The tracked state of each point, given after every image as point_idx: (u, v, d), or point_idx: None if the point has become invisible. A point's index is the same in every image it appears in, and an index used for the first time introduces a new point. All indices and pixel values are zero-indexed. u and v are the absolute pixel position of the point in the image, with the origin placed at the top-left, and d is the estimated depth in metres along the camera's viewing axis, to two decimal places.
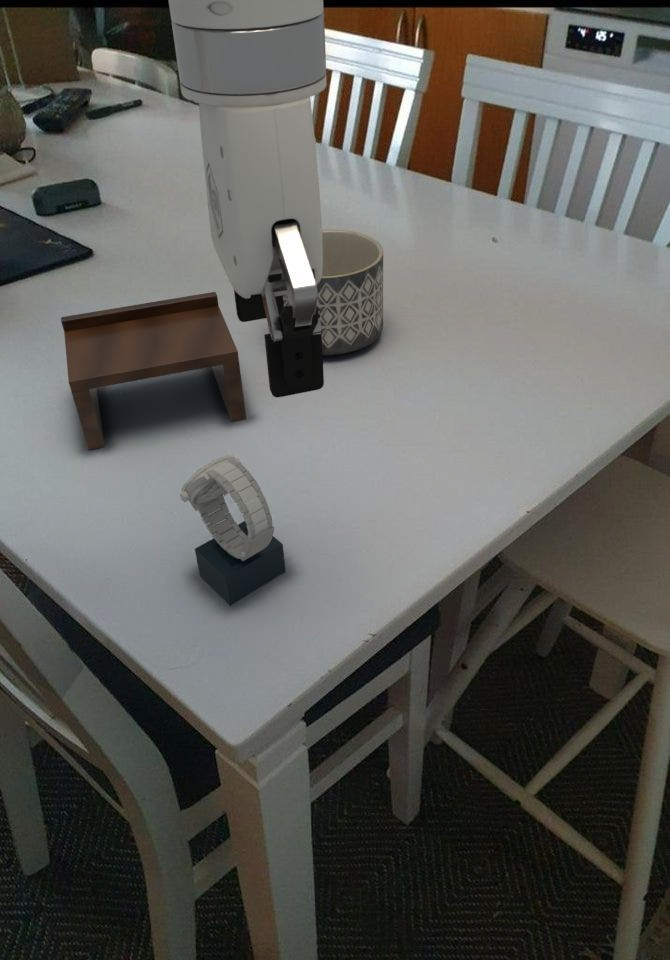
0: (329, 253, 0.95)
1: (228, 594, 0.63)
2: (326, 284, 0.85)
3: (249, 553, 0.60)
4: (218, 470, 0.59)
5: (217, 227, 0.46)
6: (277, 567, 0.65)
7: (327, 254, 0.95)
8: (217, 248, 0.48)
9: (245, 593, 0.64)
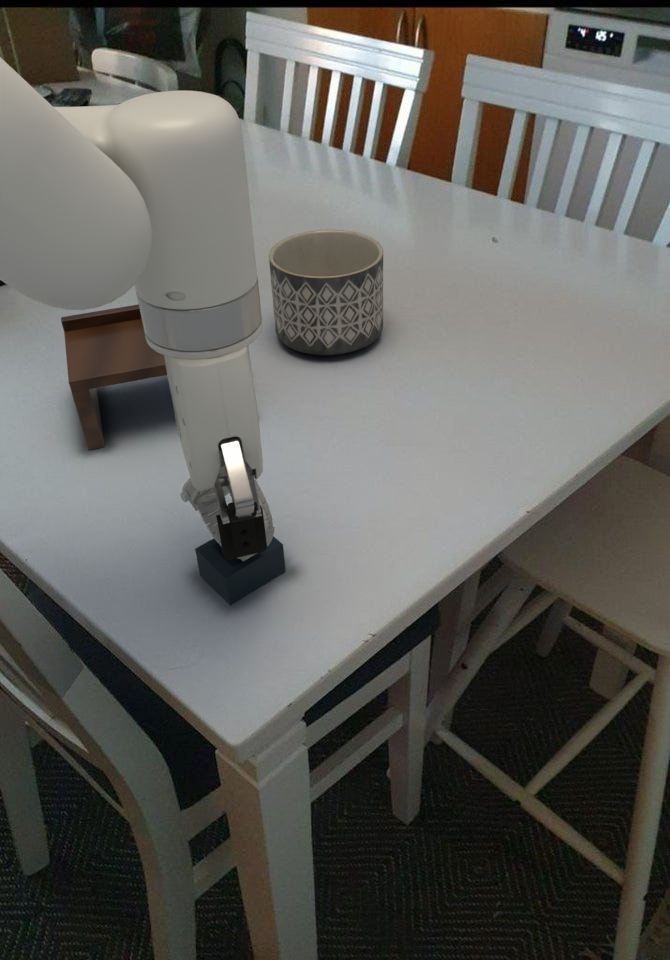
0: (329, 253, 0.95)
1: (228, 594, 0.63)
2: (326, 284, 0.85)
3: None
4: None
5: (178, 426, 0.56)
6: (277, 567, 0.65)
7: (327, 254, 0.95)
8: None
9: (245, 593, 0.64)
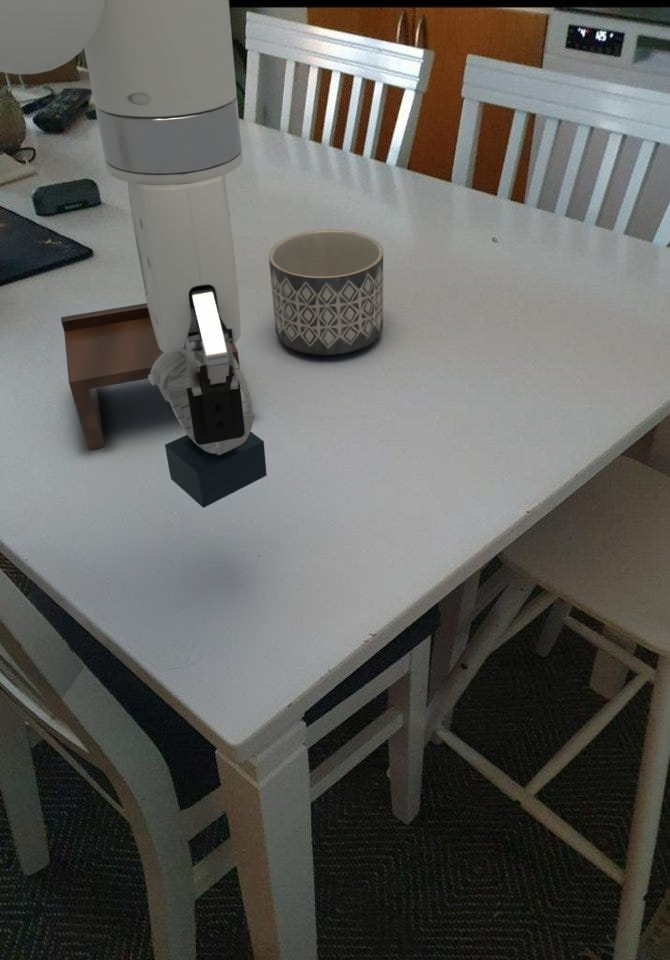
0: (329, 253, 0.95)
1: (201, 494, 0.56)
2: (326, 284, 0.85)
3: (225, 443, 0.54)
4: None
5: (145, 286, 0.49)
6: (257, 469, 0.58)
7: (327, 254, 0.95)
8: (147, 304, 0.51)
9: (220, 495, 0.57)
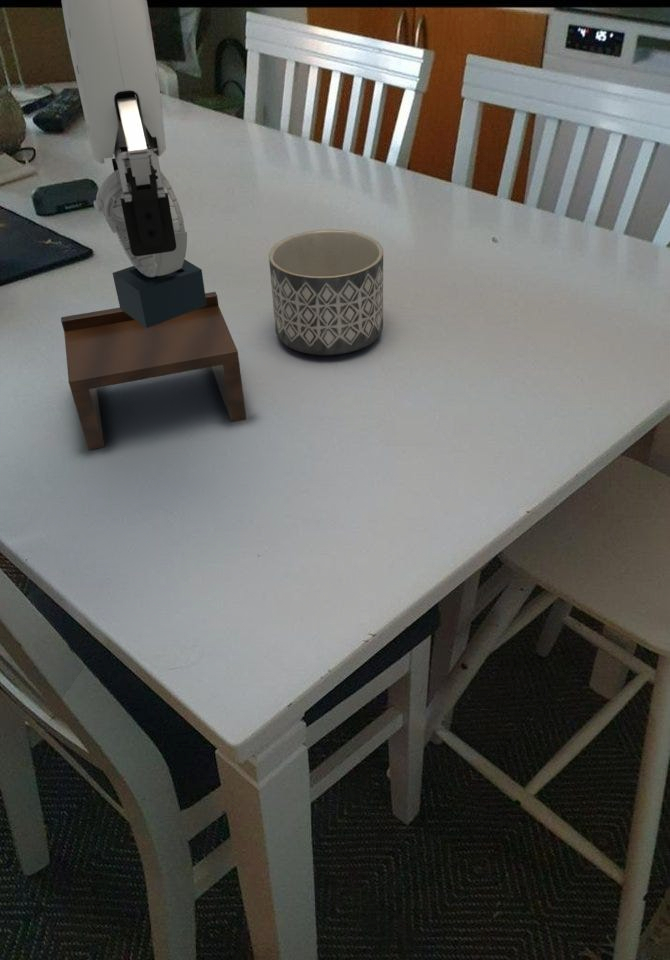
0: (329, 253, 0.95)
1: (143, 313, 0.62)
2: (326, 284, 0.85)
3: (162, 261, 0.60)
4: None
5: None
6: (197, 297, 0.64)
7: (327, 254, 0.95)
8: None
9: (162, 318, 0.63)
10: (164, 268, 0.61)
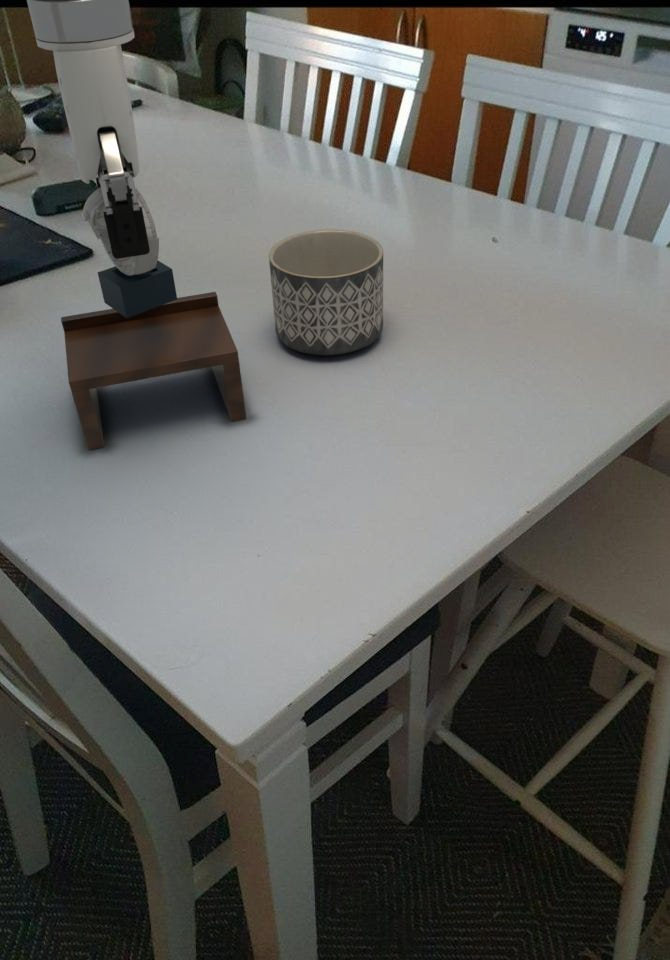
0: (329, 253, 0.95)
1: (124, 305, 0.75)
2: (326, 284, 0.85)
3: (138, 262, 0.72)
4: None
5: None
6: (169, 292, 0.77)
7: (327, 254, 0.95)
8: None
9: (140, 310, 0.76)
10: (140, 268, 0.73)
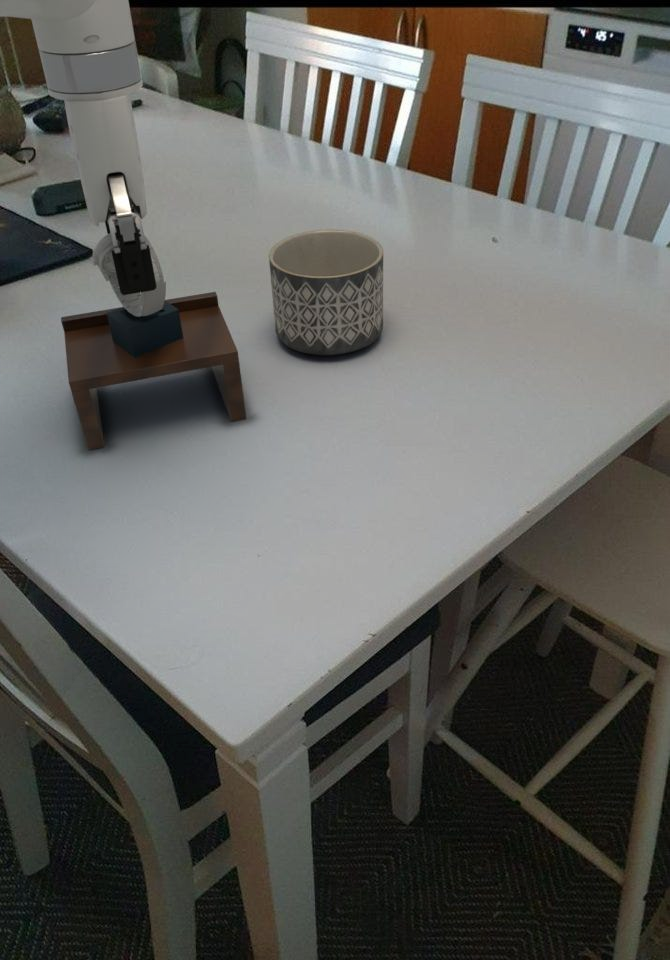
0: (329, 253, 0.95)
1: (132, 346, 0.77)
2: (326, 284, 0.85)
3: (146, 305, 0.75)
4: None
5: None
6: (175, 331, 0.80)
7: (327, 254, 0.95)
8: None
9: (147, 349, 0.78)
10: (148, 310, 0.76)
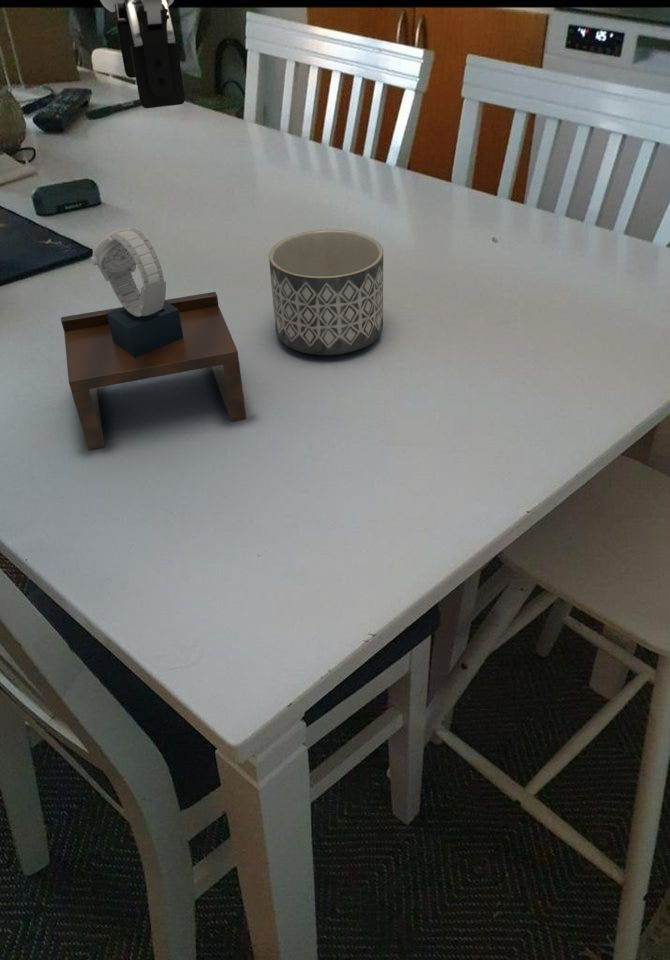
0: (329, 253, 0.95)
1: (132, 346, 0.77)
2: (326, 284, 0.85)
3: (146, 305, 0.75)
4: (119, 234, 0.74)
5: None
6: (175, 331, 0.80)
7: (327, 254, 0.95)
8: None
9: (147, 349, 0.78)
10: (148, 310, 0.76)
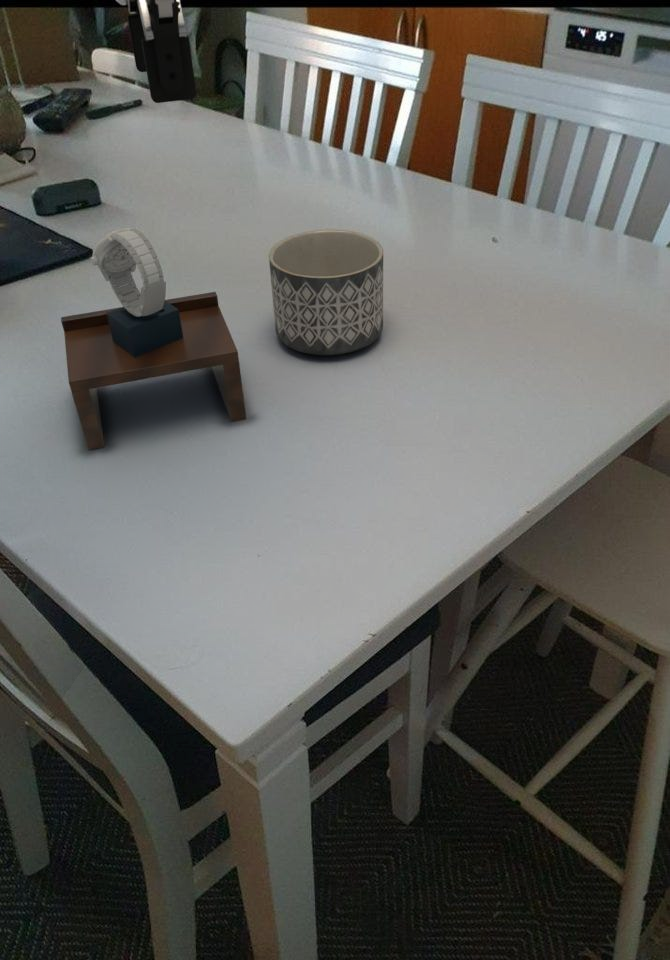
0: (329, 253, 0.95)
1: (132, 346, 0.77)
2: (326, 284, 0.85)
3: (146, 305, 0.75)
4: (119, 234, 0.74)
5: None
6: (175, 331, 0.80)
7: (327, 254, 0.95)
8: None
9: (147, 349, 0.78)
10: (148, 310, 0.76)
